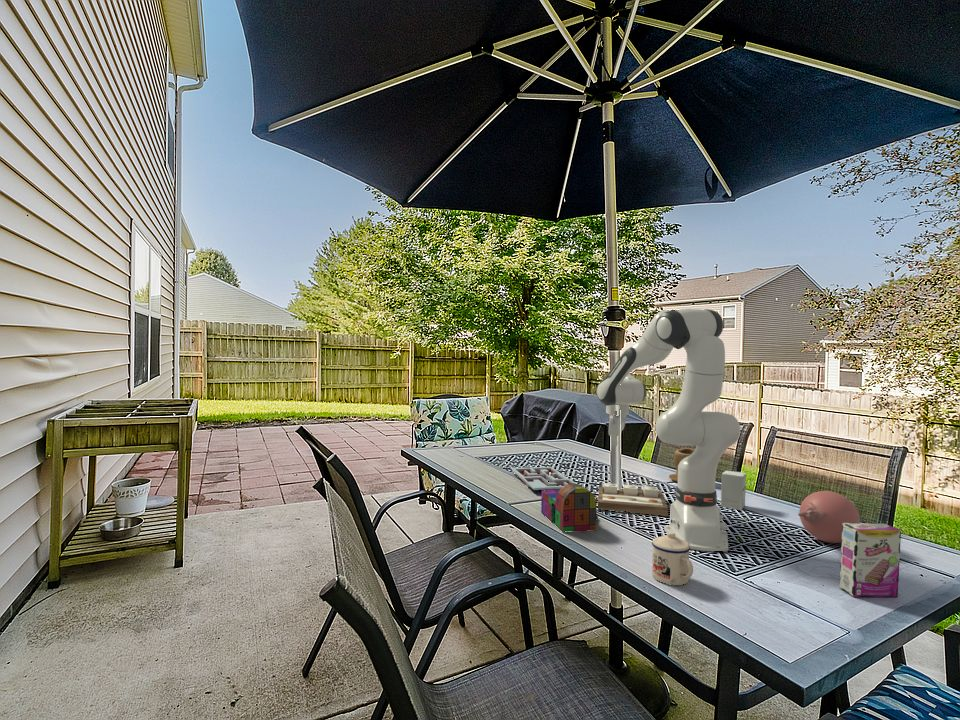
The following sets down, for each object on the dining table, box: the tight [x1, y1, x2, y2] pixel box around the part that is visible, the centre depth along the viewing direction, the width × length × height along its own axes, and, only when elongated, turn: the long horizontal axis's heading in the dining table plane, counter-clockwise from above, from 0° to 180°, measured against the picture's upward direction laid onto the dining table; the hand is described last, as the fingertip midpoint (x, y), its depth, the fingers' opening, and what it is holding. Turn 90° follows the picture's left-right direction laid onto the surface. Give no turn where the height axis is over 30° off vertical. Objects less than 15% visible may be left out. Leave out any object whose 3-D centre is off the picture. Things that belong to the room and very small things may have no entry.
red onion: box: [797, 490, 861, 544], centre depth 154 cm, size 15×20×15 cm
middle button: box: [623, 484, 639, 496], centre depth 195 cm, size 5×5×3 cm
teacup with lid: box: [651, 532, 694, 586], centre depth 126 cm, size 12×9×12 cm
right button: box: [643, 485, 659, 497], centre depth 193 cm, size 5×5×3 cm
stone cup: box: [668, 447, 695, 483], centre depth 226 cm, size 15×12×15 cm
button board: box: [597, 486, 669, 517], centre depth 190 cm, size 22×24×4 cm
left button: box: [603, 482, 618, 494], centre depth 197 cm, size 5×5×3 cm
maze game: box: [511, 466, 577, 491], centre depth 220 cm, size 35×20×3 cm, turn 11°
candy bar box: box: [839, 522, 902, 598], centre depth 121 cm, size 11×5×16 cm, turn 92°
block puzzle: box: [540, 482, 599, 533], centre depth 173 cm, size 25×17×14 cm
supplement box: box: [720, 470, 747, 511], centre depth 190 cm, size 7×7×13 cm
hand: (616, 443), depth 200 cm, fingers open, 8 cm apart
